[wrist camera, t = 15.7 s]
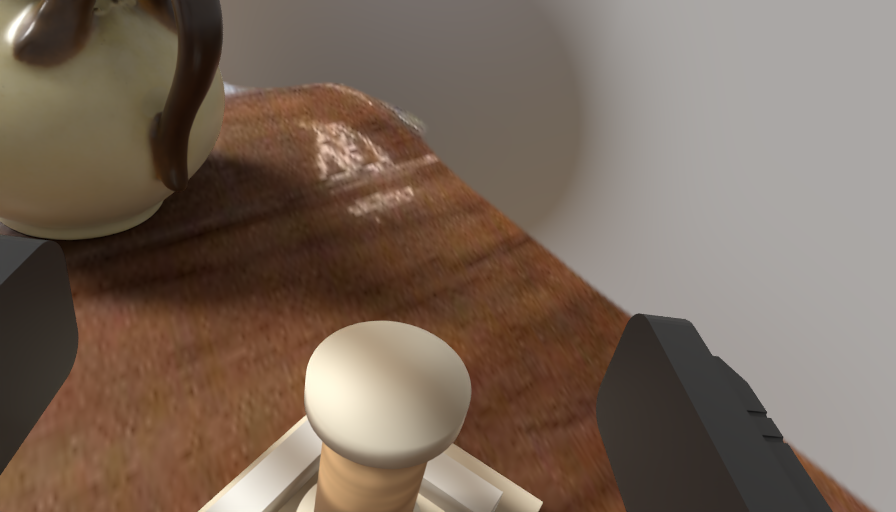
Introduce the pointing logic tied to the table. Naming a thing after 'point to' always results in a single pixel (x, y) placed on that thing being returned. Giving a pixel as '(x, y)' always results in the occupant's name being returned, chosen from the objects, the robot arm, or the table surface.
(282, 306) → the table surface
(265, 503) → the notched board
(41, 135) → the pitcher
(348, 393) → the bobbin
